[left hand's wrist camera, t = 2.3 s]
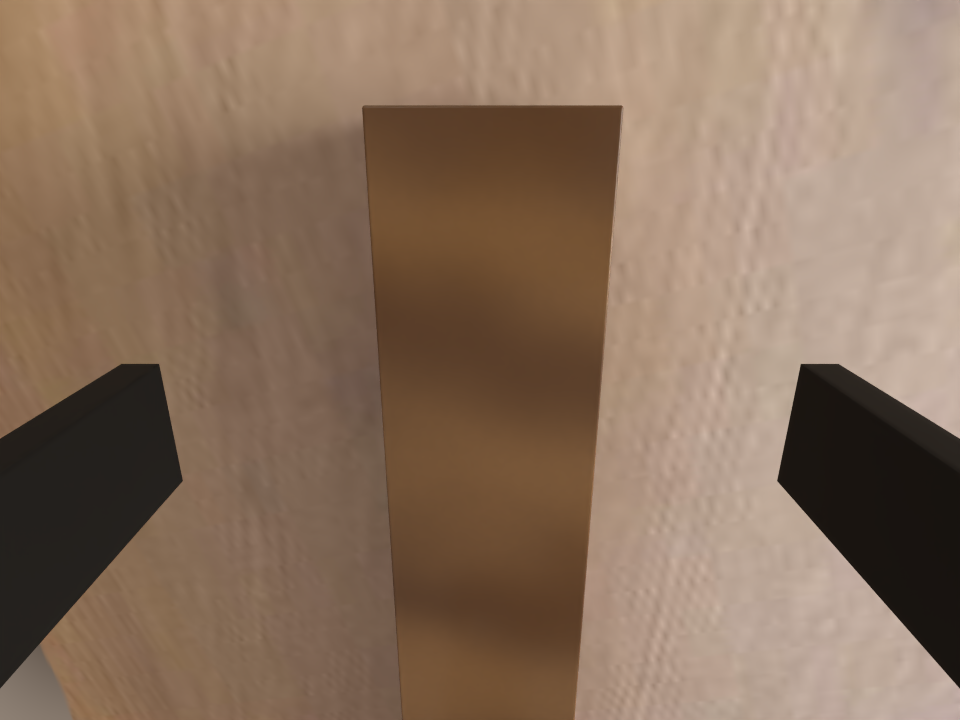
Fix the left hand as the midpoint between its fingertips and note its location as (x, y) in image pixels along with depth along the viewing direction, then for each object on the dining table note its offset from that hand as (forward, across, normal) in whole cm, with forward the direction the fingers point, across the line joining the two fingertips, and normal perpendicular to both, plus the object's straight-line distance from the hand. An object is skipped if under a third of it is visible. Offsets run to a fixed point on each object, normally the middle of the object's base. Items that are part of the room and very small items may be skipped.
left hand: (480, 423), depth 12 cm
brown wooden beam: (+12, 0, -21) cm, 24 cm away
